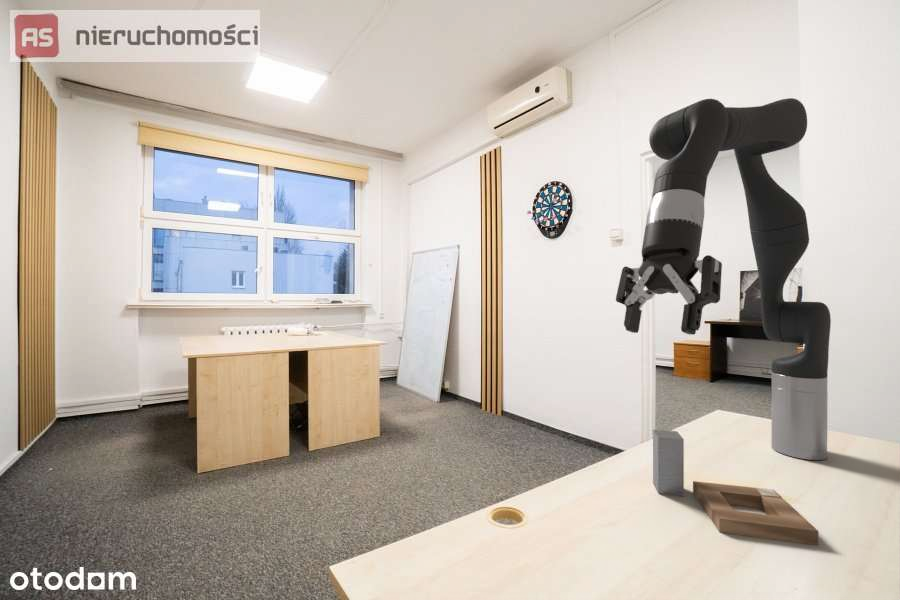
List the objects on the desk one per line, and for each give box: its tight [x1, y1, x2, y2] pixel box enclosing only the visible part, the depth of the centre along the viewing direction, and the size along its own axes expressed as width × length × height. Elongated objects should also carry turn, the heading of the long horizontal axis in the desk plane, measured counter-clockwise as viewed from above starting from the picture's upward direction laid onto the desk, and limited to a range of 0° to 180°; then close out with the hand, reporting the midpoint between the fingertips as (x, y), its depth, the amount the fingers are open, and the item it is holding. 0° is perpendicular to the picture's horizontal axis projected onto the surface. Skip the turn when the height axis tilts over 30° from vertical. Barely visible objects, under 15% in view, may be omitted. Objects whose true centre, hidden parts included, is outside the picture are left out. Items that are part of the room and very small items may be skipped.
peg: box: [652, 429, 685, 497], centre depth 71 cm, size 4×4×10 cm
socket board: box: [692, 480, 819, 546], centre depth 62 cm, size 12×12×2 cm
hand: (657, 332), depth 56 cm, fingers open, 8 cm apart
